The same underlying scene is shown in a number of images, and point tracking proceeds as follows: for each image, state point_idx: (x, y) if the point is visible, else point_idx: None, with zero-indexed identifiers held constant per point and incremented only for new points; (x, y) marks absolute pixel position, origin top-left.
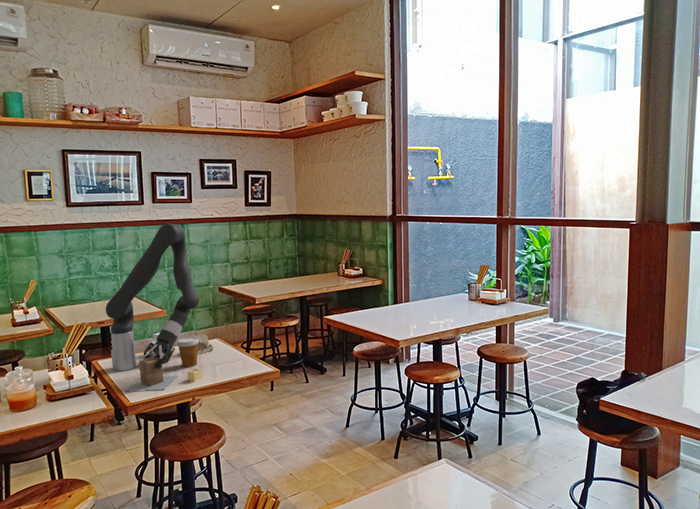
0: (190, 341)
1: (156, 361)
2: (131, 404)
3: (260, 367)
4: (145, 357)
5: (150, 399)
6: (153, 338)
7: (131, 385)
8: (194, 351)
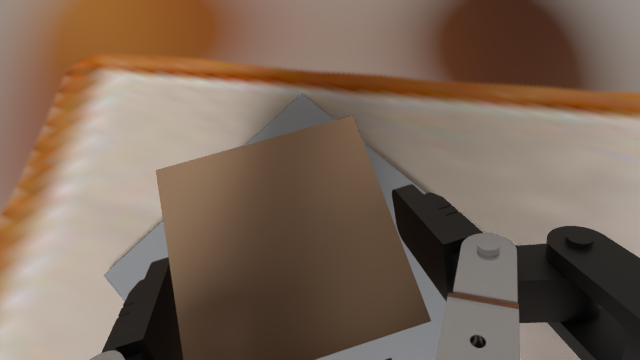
0: None
1: (183, 295)
2: (79, 62)
3: None
4: (450, 229)
5: (45, 150)
6: None
7: (371, 149)
8: None
